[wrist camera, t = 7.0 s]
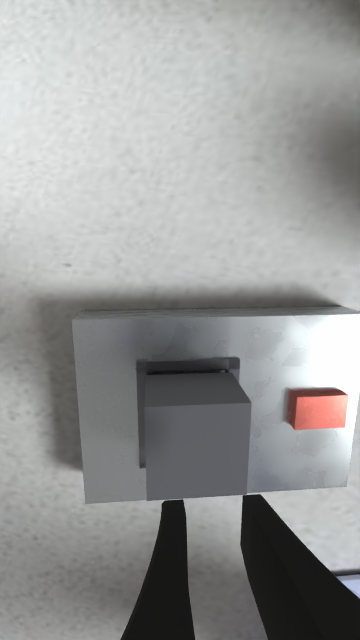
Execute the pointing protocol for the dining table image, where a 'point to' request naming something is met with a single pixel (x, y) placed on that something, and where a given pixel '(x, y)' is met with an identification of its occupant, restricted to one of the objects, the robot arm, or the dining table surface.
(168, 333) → the socket plate
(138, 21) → the dining table surface
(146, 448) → the plug
